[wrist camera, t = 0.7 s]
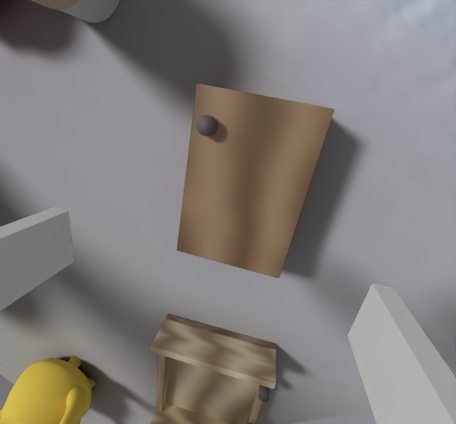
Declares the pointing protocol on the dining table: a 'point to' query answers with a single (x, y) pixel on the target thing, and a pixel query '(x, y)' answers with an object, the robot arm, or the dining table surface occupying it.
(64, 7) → the coffee cup
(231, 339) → the box
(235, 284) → the dining table surface
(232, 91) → the door
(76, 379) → the teapot
